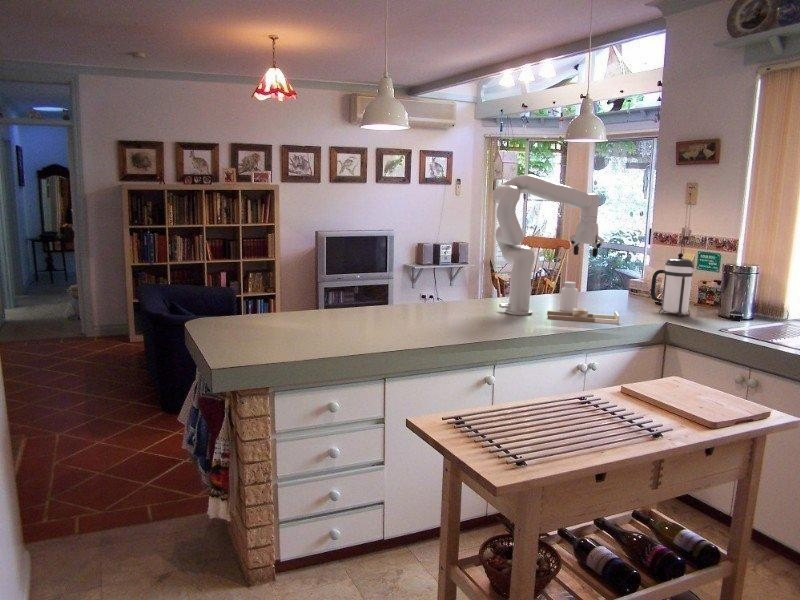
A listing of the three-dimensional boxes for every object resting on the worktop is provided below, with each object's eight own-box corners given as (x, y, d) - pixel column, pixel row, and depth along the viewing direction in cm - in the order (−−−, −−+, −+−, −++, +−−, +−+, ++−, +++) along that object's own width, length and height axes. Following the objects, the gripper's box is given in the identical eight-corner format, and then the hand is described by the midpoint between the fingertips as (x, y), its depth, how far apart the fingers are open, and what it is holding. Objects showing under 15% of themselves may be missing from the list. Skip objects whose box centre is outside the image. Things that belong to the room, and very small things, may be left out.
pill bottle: (557, 313, 301) (559, 282, 299) (561, 311, 308) (564, 280, 306) (574, 315, 298) (577, 283, 295) (578, 313, 305) (580, 282, 302)
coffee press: (684, 311, 318) (690, 252, 313) (695, 317, 303) (702, 255, 298) (648, 310, 320) (654, 250, 315) (657, 316, 304) (664, 253, 299)
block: (572, 319, 280) (573, 310, 280) (572, 316, 286) (572, 308, 285) (587, 320, 279) (587, 311, 278) (586, 317, 285) (586, 309, 284)
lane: (547, 322, 280) (548, 310, 279) (546, 317, 291) (547, 306, 291) (618, 327, 274) (619, 315, 273) (615, 322, 285) (616, 311, 285)
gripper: (568, 218, 305) (564, 254, 308) (602, 221, 293) (598, 257, 296) (575, 218, 310) (572, 253, 313) (609, 221, 299) (605, 257, 301)
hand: (585, 255), depth 305 cm, fingers open, 9 cm apart
